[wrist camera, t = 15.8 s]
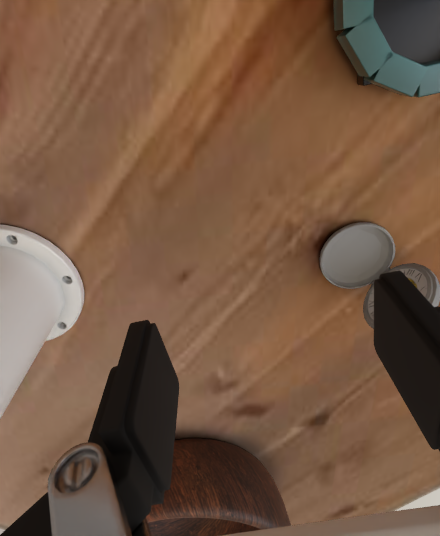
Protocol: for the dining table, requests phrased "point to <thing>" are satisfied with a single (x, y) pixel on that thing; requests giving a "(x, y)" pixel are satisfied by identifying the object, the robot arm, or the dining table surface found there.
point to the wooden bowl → (216, 493)
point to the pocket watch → (370, 263)
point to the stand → (409, 29)
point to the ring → (380, 53)
